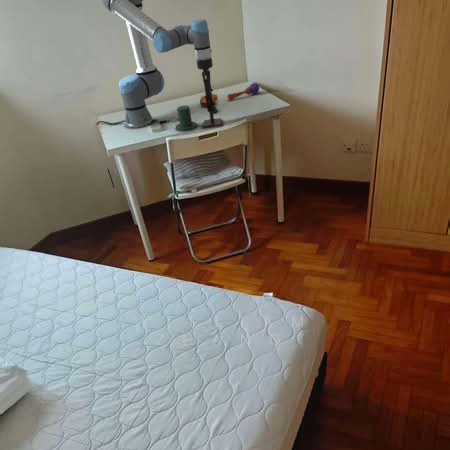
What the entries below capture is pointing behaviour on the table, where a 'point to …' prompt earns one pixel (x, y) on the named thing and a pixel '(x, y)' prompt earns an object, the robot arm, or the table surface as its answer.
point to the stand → (185, 119)
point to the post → (212, 121)
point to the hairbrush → (206, 105)
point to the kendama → (252, 89)
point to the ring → (214, 97)
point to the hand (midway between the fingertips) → (210, 108)
